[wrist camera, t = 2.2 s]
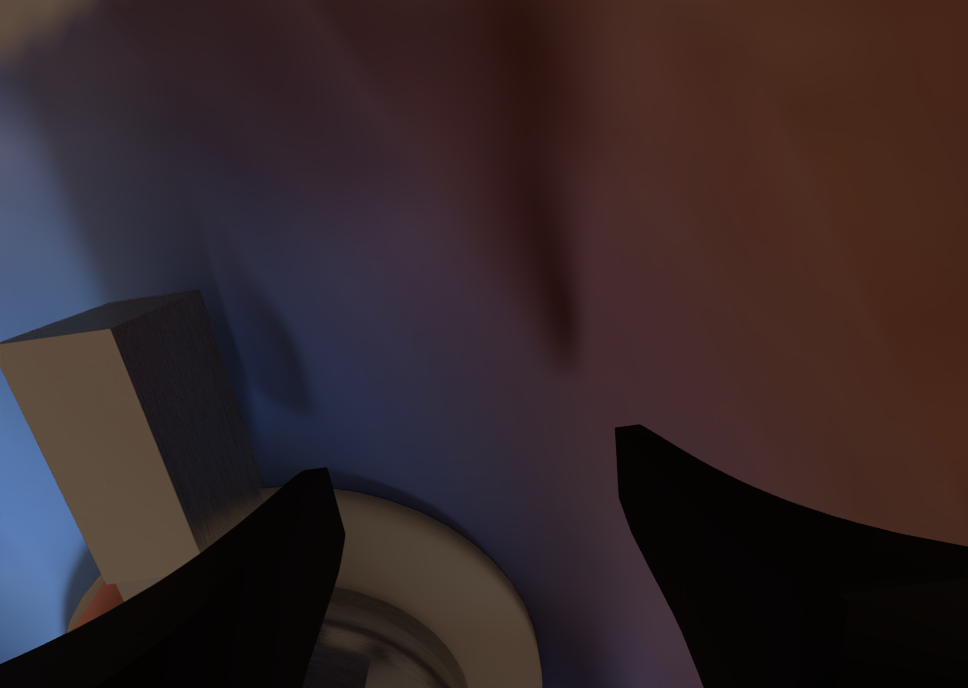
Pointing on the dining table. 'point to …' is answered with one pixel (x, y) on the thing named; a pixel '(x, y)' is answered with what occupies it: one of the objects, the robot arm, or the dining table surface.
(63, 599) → the dining table surface
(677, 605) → the robot arm
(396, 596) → the flange plate
